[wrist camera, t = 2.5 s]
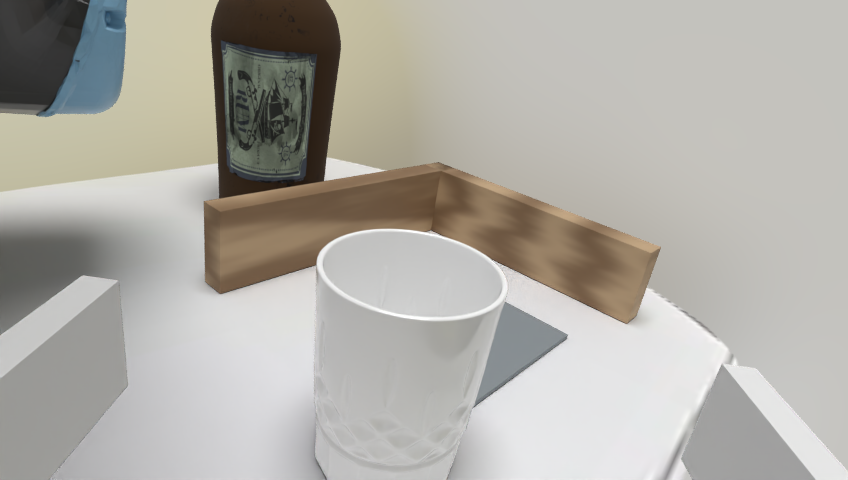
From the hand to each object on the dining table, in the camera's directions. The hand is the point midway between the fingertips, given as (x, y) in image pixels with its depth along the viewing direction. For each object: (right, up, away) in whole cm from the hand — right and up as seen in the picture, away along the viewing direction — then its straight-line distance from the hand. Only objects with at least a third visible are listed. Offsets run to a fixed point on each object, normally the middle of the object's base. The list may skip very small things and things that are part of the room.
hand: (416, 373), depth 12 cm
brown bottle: (-15, +6, +40) cm, 43 cm away
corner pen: (+1, -1, +28) cm, 28 cm away
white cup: (-2, -7, +14) cm, 16 cm away
